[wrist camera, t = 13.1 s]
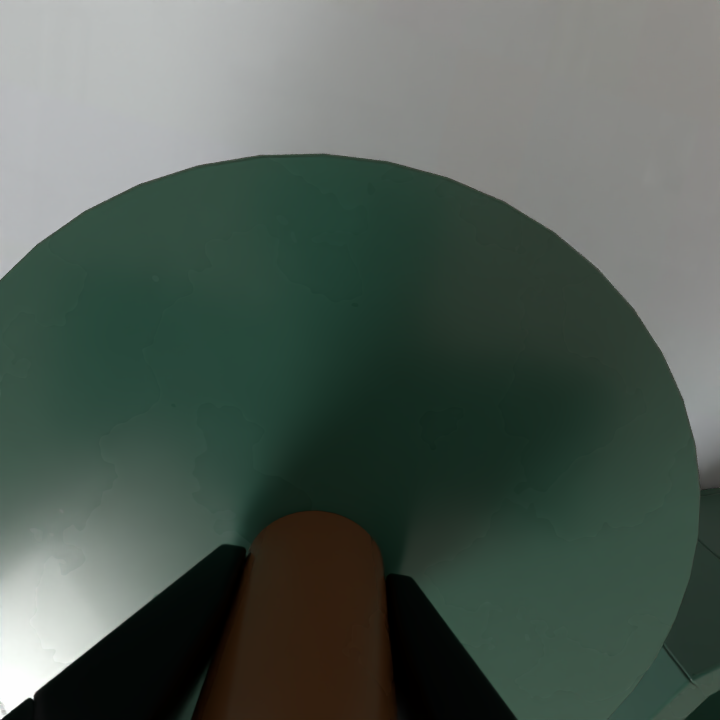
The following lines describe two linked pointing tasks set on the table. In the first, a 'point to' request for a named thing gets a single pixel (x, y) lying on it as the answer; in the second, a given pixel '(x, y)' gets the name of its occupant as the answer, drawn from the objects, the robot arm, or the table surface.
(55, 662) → the pot lid
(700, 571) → the pot
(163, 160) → the table surface
